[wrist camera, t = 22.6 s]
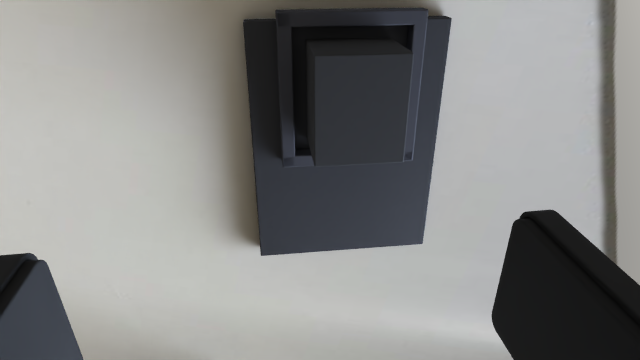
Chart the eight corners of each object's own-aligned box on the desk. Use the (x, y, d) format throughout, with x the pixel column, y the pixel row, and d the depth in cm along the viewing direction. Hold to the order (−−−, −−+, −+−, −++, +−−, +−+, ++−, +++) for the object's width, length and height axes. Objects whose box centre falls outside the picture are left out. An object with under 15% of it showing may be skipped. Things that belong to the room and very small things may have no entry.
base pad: (242, 8, 25) (241, 12, 23) (446, 5, 26) (460, 9, 25) (260, 247, 33) (260, 264, 31) (418, 236, 34) (427, 252, 32)
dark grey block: (305, 38, 25) (313, 55, 21) (390, 36, 26) (414, 52, 22) (306, 136, 28) (314, 167, 24) (383, 133, 29) (403, 162, 25)
